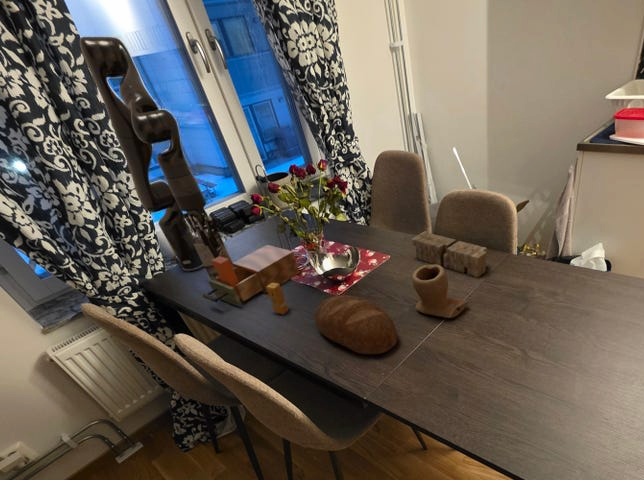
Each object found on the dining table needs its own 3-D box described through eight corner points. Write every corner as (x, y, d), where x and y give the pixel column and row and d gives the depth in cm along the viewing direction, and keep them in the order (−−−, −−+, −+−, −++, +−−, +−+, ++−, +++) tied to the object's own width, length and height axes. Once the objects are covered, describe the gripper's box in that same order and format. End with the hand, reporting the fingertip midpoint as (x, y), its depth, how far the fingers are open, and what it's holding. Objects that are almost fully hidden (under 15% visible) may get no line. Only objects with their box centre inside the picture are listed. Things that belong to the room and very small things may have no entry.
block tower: (489, 270, 138) (426, 249, 153) (490, 248, 132) (425, 229, 147) (476, 280, 134) (413, 257, 149) (477, 258, 128) (411, 237, 143)
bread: (373, 367, 104) (365, 334, 96) (305, 331, 119) (294, 300, 112) (410, 337, 112) (406, 304, 105) (342, 307, 127) (334, 276, 120)
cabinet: (266, 293, 139) (258, 271, 133) (241, 284, 146) (232, 263, 140) (300, 272, 148) (293, 251, 143) (274, 265, 155) (267, 244, 150)
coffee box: (228, 282, 148) (209, 242, 137) (212, 283, 148) (192, 244, 138) (236, 270, 155) (219, 231, 144) (221, 271, 155) (203, 233, 145)
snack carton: (227, 293, 137) (211, 260, 129) (234, 289, 139) (219, 256, 130) (236, 297, 135) (220, 263, 126) (244, 292, 136) (228, 259, 128)
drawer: (226, 314, 129) (217, 297, 124) (203, 304, 135) (193, 287, 131) (273, 285, 141) (266, 268, 136) (250, 277, 147) (243, 261, 143)
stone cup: (408, 316, 120) (402, 273, 110) (426, 297, 127) (423, 255, 117) (452, 328, 114) (450, 283, 104) (469, 307, 121) (468, 263, 111)
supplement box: (289, 309, 129) (280, 283, 123) (283, 315, 127) (272, 288, 121) (282, 307, 131) (272, 281, 124) (275, 313, 128) (264, 287, 122)
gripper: (211, 189, 112) (235, 245, 124) (184, 184, 119) (209, 237, 130) (188, 198, 108) (214, 255, 119) (161, 192, 114) (189, 247, 126)
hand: (212, 245), depth 125 cm, fingers open, 3 cm apart
